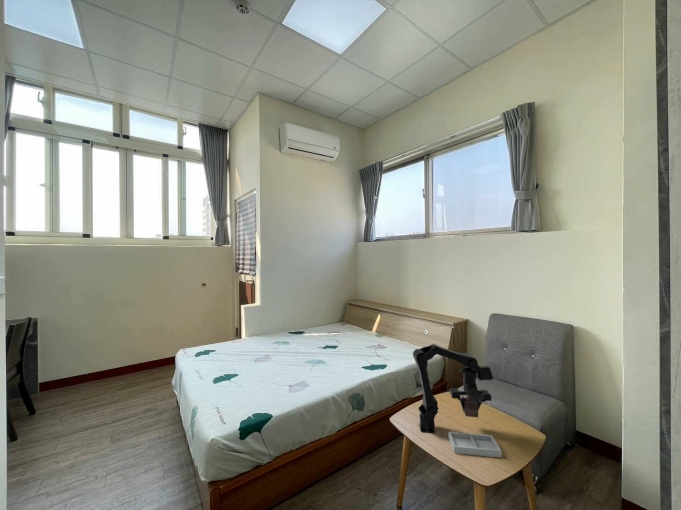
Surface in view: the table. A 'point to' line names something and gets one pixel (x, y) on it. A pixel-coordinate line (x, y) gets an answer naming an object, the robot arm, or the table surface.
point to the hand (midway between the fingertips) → (470, 411)
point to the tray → (474, 444)
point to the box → (470, 408)
